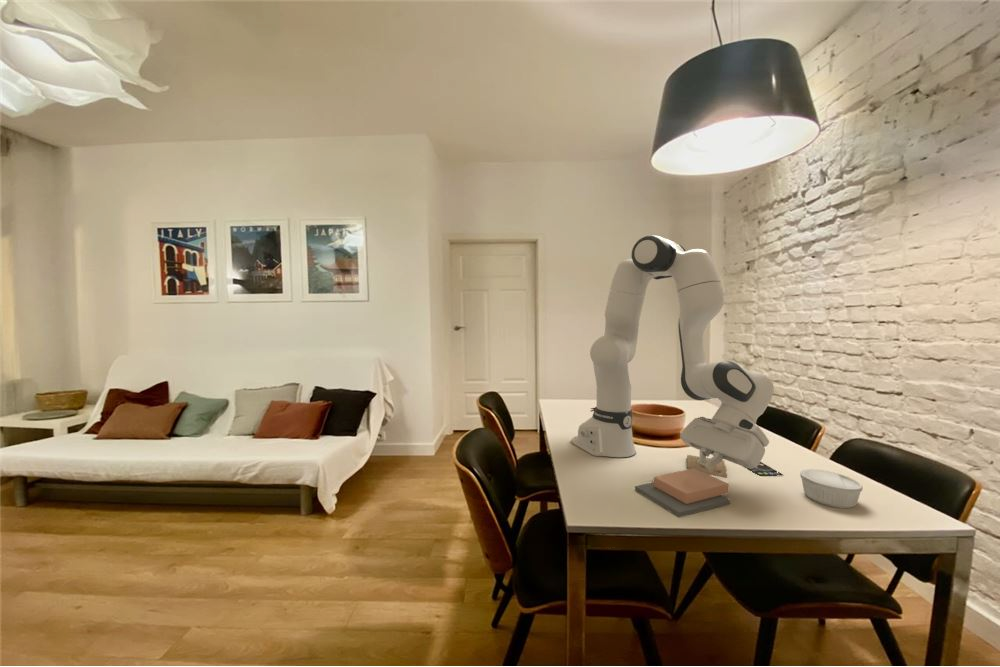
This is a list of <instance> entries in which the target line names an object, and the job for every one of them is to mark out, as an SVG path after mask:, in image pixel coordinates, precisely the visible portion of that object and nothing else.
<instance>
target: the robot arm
mask: <svg viewBox="0 0 1000 667" xmlns="http://www.w3.org/2000/svg"><path fill="white" fill-rule="evenodd" d="M668 278H673V281H674V284H675V287H676V291H677V292H676V293H677V297H678V303H679V317H678V324H677V325H678V337H679V345H680V353H681V364H682V365H681V366H682V367H681V374H680V384H681V387H682V390H683V391H684V393H685V394H686V395H687V396H688V397H689V398H691V399H693V400H695V401H706V400H711V399H718V400H719V401H720V402H721V403H720V406H719V407H718V409H717V410H716V412H715V413H714V415H713V416H712V417H711V418H709V417H708V418H707V417H704V416H699V417H695V418H694V419H692V421H690V422H689V423H688V424H687V425H686V426H685V428H684V429H683V430H682V431H681V433H679V438H680V440H681V441H682V442H683V443H684V444H685V445H686V446H689V447H692V448H694V449H696V450H699V457H700V458H699V460H698V461H697V464H698V465H699V466H700V467H703V468H705V469H707V470H711V468H712V467H713V465H716V464H718V463H720V462H721V461H722V460H724V461H725V460H726V461H727V462H731V463H733V464H736V465H739V466H741V467H743V468H745V467H746V468H749V469H753V468H756V467H757V466H758V465H759V463H760V462H762V459H763V457H764V456H765V453H766V447H767V446H768V445H769V444H770V441H769V438H768V437H767V435H766V434H765V432H763V430H762V429H761V427H759V425H758V424H757V420H758V418H759V417H760V416H761V415H763V414H764V413H765V411H766V410H767V407H768V406H769V405H770V402H771V400H772V398H773V396H774V393H775V392H774V391H775V387H774V383H773V381H772V380H771V379H770V378H769V377H768V376H767V375H765V374H764V373H762V372H759V371H756V370H747V369H745V368H743V367H741V366H740V365H739V364H738V363H736V362H733V361H731V360H722V361H721V360H720V361H716V362H711V363H707V362H706V357H705V348H704V347H705V346H704V338H703V336H704V331H705V329H706V328H707V326H708V325H709V324H710V323H711V321H712V320H713V319H714V318H715V317H716V316H717V315H718V314H719V313H720V312H721V310H722V308H723V307H724V304H725V303H724V302H725V294H724V290H723V285H722V282H721V277H720V275H719V272H718V269H717V267H716V265H715V262H714V260H713V258H712V257H711V255H710V253H709V252H708V251H706V250H704V249H701V248H695V249H694V248H693V249H690V250H687V251H686V249H685V248H684V247H683V246H682V245H681V244H678V243H676V241H673V240H671V239H669V238H665V237H662V236H659V235H653V234H651V235H646V236H643V237H640V238H639V239H638V240H637V241H636V242H635V244H634V245H633V247H632V250H631V258H627V259H624V260H622V261H621V262H619V264H618V266H617V267H616V269H615V272H614V274H613V278H612V281H611V285H610V289H609V293H608V296H607V302H606V306H605V310H604V316H605V318H604V319H605V327H604V335H602V336H600V337H599V338H597V339H596V340H595V341H594V342H593V343H592V345H591V347H590V350H589V356H590V359H591V361H592V364H593V371H594V376H595V381H596V382H595V383H596V406H595V407H591V408H590V412H593V413H592V417H590V418H587V420H586V421H584V422H582V423H581V424H580V425H579V426H578V430H577V435H576V436H573V437H572V438H571V439H570V443H572V444H574V445H575V446H577V447H578V448H580V449H582V450H583V451H585V452H587V453H588V454H590V455H592V456H595V457H607V458H609V457H610V458H628V457H633V456H634V455H635V454H636V451H637V450H636V448H635V444H634V438H633V429H632V424H633V409H632V384H631V381H630V375H629V374H630V373H629V364H628V363H630V362H631V361H632V360H633V359H634V357H635V354H636V350H637V349H636V348H637V342H638V335H639V326H640V319H641V315H642V310H643V305H644V301H645V297H646V293H647V288H648V284H649V283H650V281H651V280H653V279H654V280H662V279H668ZM711 455H712V457H711V458H710V459H709V460H706V458H708V457H709V456H711ZM746 468H745V469H746Z"/></svg>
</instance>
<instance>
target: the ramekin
mask: <svg viewBox="0 0 1000 667" xmlns="http://www.w3.org/2000/svg"><path fill="white" fill-rule="evenodd" d="M799 476H800V478H801V483H802V488H803V492H804V494H805V495H806V496H807V497H808V498H809V499H811V500H813V501H815V502H818V503H819V504H823V505H826V506H828V507H834V508H838V507H839V509H852V508H854V507H855V506H856V505H857V504H858V501H859V499H860V495H861V493H862V491H863V485H862V484H861V483H860V482H859V481H858V480H856V479H854V478H851V477H849V476H846V475H845V474H841V473H839V472H838V473H837V472H835V471H831V470H830V471H829V470H823V469H815V468H814V469H812V468H811V469H809V468H808V469H803V470H801V471H800V474H799Z"/></svg>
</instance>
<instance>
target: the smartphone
mask: <svg viewBox="0 0 1000 667" xmlns="http://www.w3.org/2000/svg"><path fill="white" fill-rule="evenodd" d="M744 468H745V469H746V467H744ZM747 470H748V471H750V472H751V471H752V472H751V473H753V474H754V473H755V474H754V475H756V474H757V475H756V476H758V475H759V476H760V477H778V476H777V475H783V476H784V474H783V473H781V472H780V471H778V470H776V469H774V468H773V467H771V466H769V465H767V464H765V463H764V462H762V461H761V462H760V463H759V465H758V466H757V467H756V468H753V469H749V468H747ZM777 471H778V473H777ZM759 476H758V477H759Z"/></svg>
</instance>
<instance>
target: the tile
mask: <svg viewBox="0 0 1000 667" xmlns="http://www.w3.org/2000/svg"><path fill="white" fill-rule="evenodd" d="M653 482H654V486H655V487H656V488H658V489H660V490H662V491H664V492H666V493H667V494H669V495H671V496H673V497H675V498H676V499H678V500H680V501H682V502H684V503H685V504H688V503H692V502H696V501H700V500H704V499H708V498H712V497H716V496H720V495H721V496H724V495H727V494H729V492H730V485H729V483H728V482H726V481H723V480H721V479H720V478H719V479H718V478H717V477H715V476H712V475H708V474H705V473H703V472H701V471H698V470H696V469H689V470H688V469H685V470H681V471H680V470H679V471H675V472H671V473H665V474H660V475H657V476H656V475H655V476H653Z"/></svg>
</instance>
